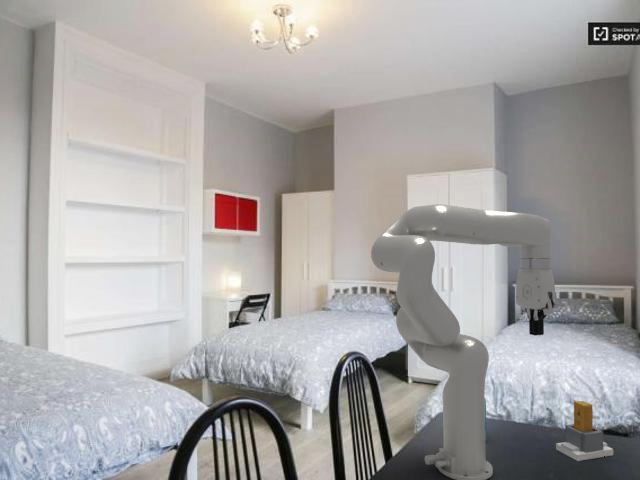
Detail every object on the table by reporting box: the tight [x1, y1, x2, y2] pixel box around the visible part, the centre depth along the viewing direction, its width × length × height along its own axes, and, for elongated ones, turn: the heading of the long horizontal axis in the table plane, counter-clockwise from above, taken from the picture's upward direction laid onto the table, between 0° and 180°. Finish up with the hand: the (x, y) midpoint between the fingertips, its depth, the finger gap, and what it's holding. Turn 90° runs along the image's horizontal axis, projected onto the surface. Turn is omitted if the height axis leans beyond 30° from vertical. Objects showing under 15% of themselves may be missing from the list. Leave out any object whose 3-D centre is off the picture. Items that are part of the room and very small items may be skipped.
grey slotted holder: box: [555, 423, 614, 462], centre depth 122 cm, size 11×7×6 cm, turn 106°
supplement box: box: [573, 400, 594, 433], centre depth 122 cm, size 3×3×10 cm
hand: (536, 334), depth 127 cm, fingers closed
